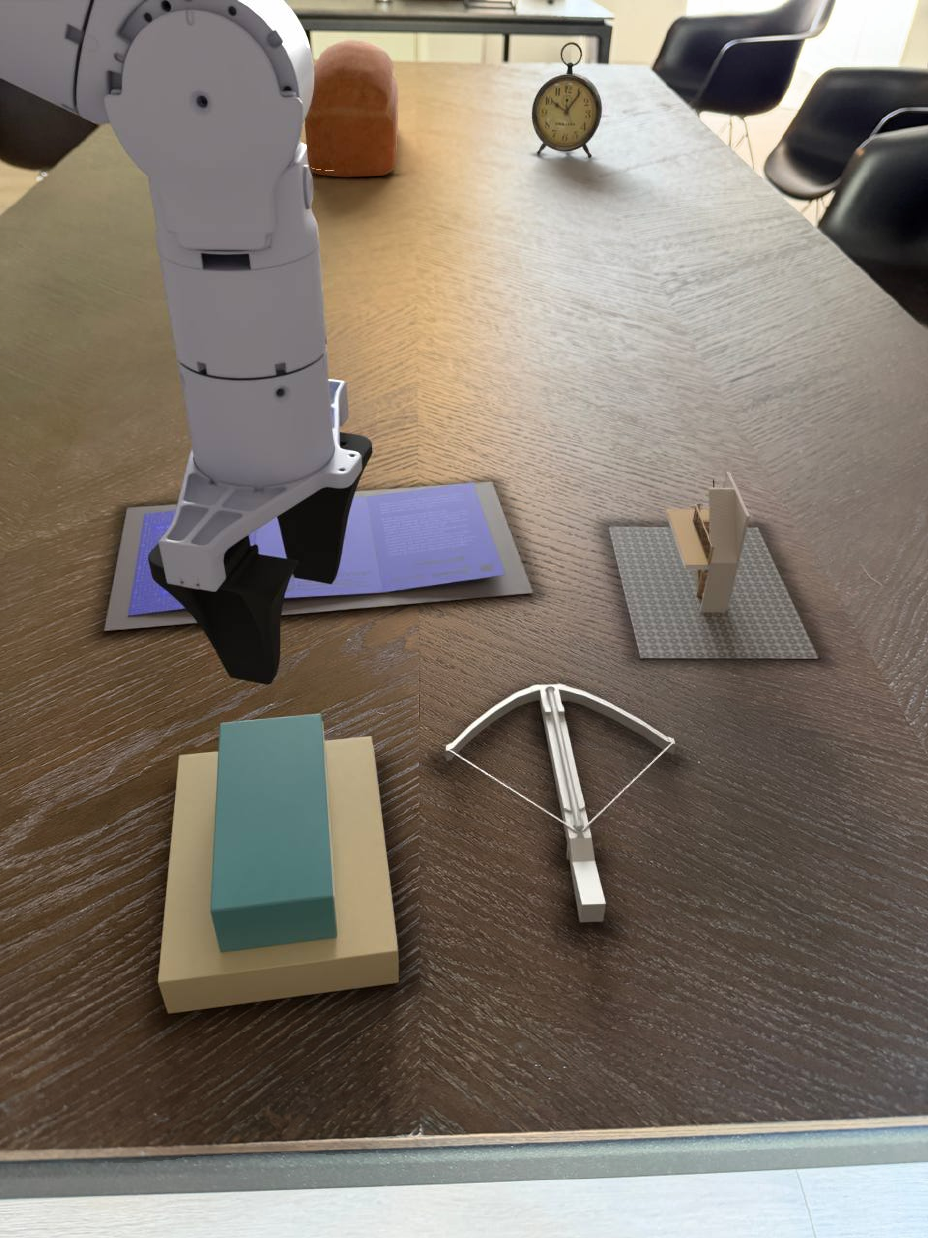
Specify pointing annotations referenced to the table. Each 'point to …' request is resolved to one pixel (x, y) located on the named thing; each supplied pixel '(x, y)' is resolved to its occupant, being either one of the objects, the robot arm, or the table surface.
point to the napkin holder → (707, 586)
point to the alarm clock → (567, 110)
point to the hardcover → (285, 970)
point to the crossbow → (568, 777)
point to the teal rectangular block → (272, 835)
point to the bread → (353, 112)
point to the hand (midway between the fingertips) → (285, 623)
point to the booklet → (353, 556)
